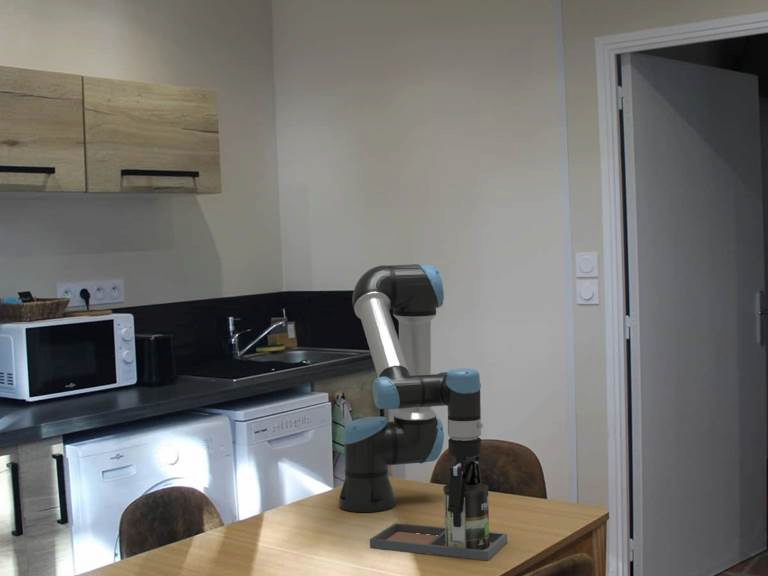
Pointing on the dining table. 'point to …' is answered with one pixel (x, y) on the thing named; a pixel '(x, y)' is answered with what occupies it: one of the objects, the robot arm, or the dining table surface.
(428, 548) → the organiser
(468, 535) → the coffee can
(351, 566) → the dining table surface
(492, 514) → the dining table surface
